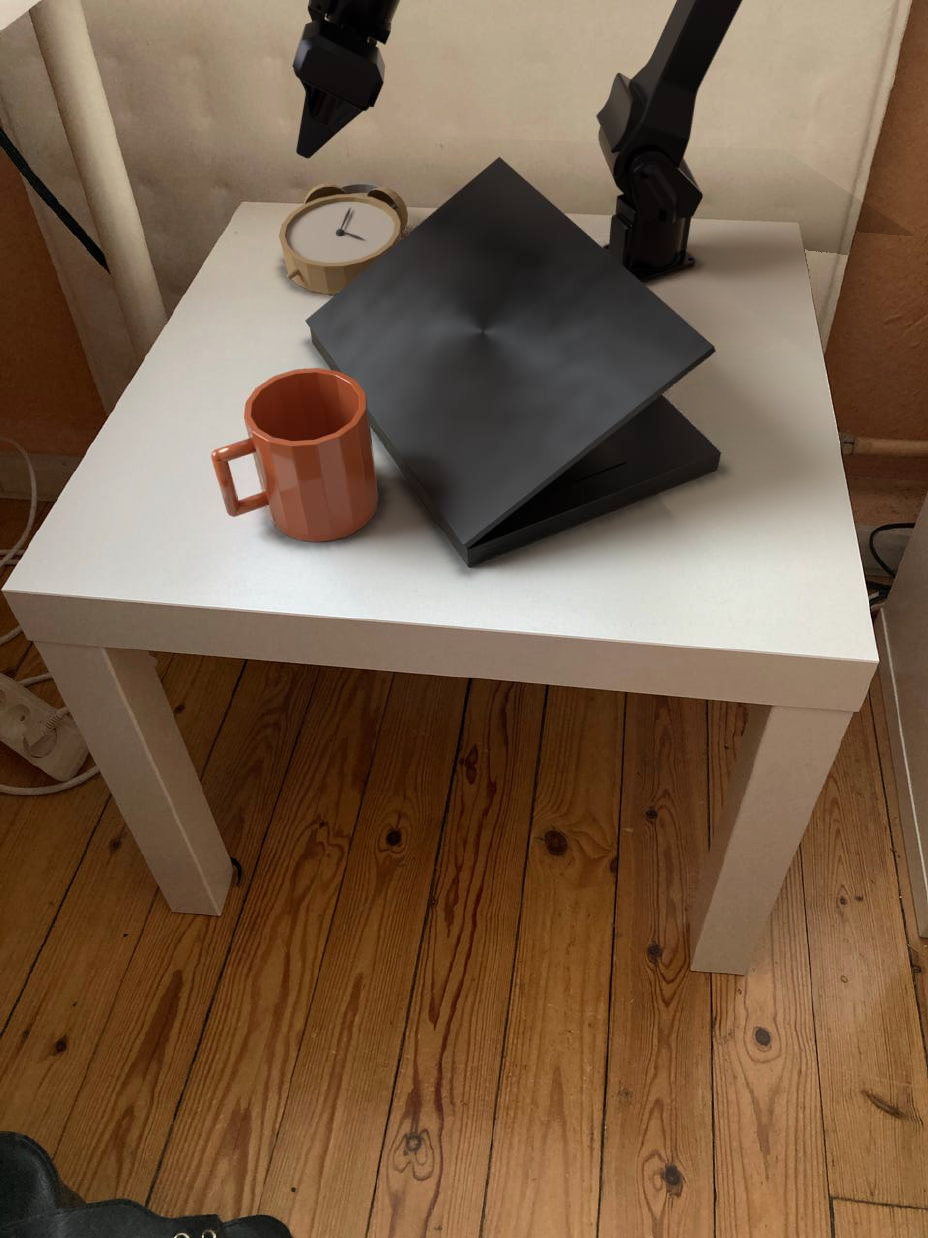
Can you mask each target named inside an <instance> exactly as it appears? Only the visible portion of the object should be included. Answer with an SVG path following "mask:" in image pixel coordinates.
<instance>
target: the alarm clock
mask: <svg viewBox="0 0 928 1238" xmlns="http://www.w3.org/2000/svg"><path fill="white" fill-rule="evenodd" d="M363 194H367V195H363ZM407 208H408V207H407V205H406V203H405V201H404V200H403V198H402V197H401V196H400V195H399V194H398V193H397V192H396V191H395V190H393V189H391V188H389V187H385V186H382V185H380V184H377V183H371V182H353V183H352V182H351V183H347V184H344V185H341V186H339V185H337V184H334V183H329V182H327V183H321V184H317V185H315V186H313V188H311V189H310V190H309V192H308V193H307V194H306V196H305V198H304V201H303V204H302V205H300V206H299V207H297V208H296V209H294V210H293V211H292V212H290V213H289V214H288V216H287V217H286V218H285V219H284V221H283V222H282V224H281V225H280V230H279V235H278V237H279V241H280V245H281V249H282V253H283V258H284V265H285V268H286V271H287V274H286V276H285V277H286V279H287V280H288V281H290V280H293V282H294V283H295V284H296V285H297V286H299V287H302V288H304V289H306V290H307V291H310V292H313V293H317V294H324V295H328V296H335V295H336V294H337V293H338V292H340V291H341V290H342V289H343V288H344V287H346V286H347V285H348V284H349V283H350V282H351V281H353V280H354V279H355V278H356V277H357V276H359V275H360V274H361V273H362V272H363V271H364V270H366V269H367V268H368V267H369V266H370V265H372V264H373V263H374V262H375V261H376V260H377V259H379V258H380V257H381V256H382V255H383V254H385V253H386V252H387V251H388V250H389V249H391V248H392V247H393V246H394V245H395V244H396V243H398V242H399V241H400V240H401V239H402V238H403V237H402V233H403V232H404V231H405V229H406V227H407V224H408V221H409V212H408V209H407Z"/></svg>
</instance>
